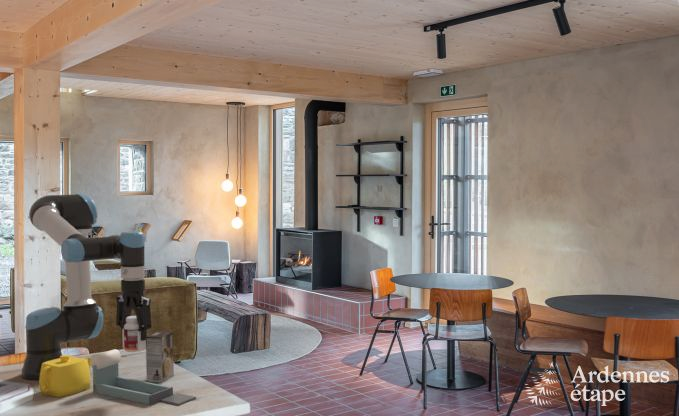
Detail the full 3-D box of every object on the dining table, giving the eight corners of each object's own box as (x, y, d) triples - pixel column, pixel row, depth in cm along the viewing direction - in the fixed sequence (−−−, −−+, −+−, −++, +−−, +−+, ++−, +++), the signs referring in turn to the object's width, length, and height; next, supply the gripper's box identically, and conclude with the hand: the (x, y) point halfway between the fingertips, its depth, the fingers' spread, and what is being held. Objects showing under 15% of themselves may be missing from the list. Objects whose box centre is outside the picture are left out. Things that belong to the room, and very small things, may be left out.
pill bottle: (126, 348, 243) (125, 315, 243) (145, 347, 244) (144, 314, 243) (122, 352, 237) (121, 319, 236) (141, 352, 237) (141, 318, 237)
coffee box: (157, 374, 265) (157, 330, 264) (174, 375, 263) (173, 331, 262) (145, 381, 256) (145, 336, 255) (163, 382, 254) (162, 337, 253)
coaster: (159, 401, 234) (159, 399, 234) (177, 394, 241) (177, 392, 241) (178, 405, 230) (178, 403, 230) (195, 398, 237) (195, 396, 237)
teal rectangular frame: (89, 391, 244) (88, 354, 244) (112, 383, 253) (111, 348, 252) (150, 404, 231) (150, 365, 230) (172, 396, 239) (172, 358, 238)
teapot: (80, 379, 258) (80, 346, 258) (104, 385, 252) (103, 351, 251) (29, 394, 242) (29, 358, 241) (53, 400, 235) (52, 364, 234)
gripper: (103, 278, 241) (104, 347, 242) (145, 282, 231) (147, 355, 232) (120, 275, 247) (122, 343, 248) (162, 279, 237) (163, 350, 239)
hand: (134, 348), depth 240 cm, fingers closed on pill bottle, 6 cm apart
